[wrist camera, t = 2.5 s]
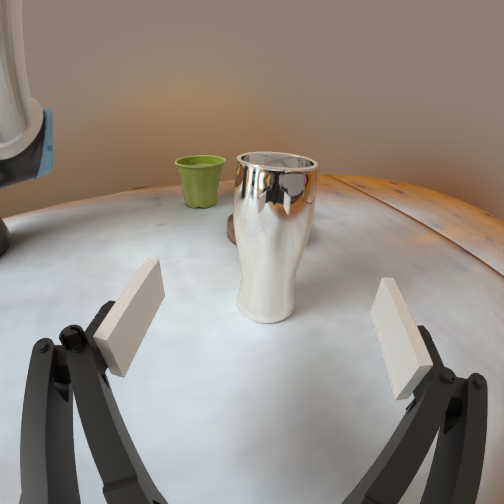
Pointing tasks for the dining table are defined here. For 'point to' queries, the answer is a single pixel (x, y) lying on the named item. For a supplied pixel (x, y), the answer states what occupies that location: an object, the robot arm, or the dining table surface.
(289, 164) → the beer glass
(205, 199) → the plant pot
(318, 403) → the dining table surface
